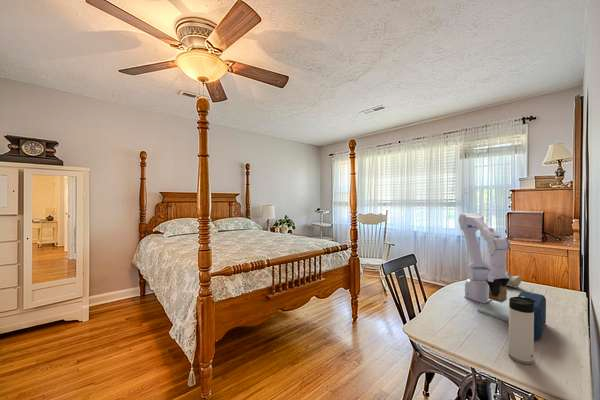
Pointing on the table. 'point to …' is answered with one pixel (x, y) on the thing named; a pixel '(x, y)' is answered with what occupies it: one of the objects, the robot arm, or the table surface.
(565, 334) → the table surface
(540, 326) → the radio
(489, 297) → the walnut block
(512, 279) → the ceramic sculpture
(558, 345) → the table surface
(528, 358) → the travel mug
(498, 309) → the board
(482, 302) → the robot arm
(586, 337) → the table surface
